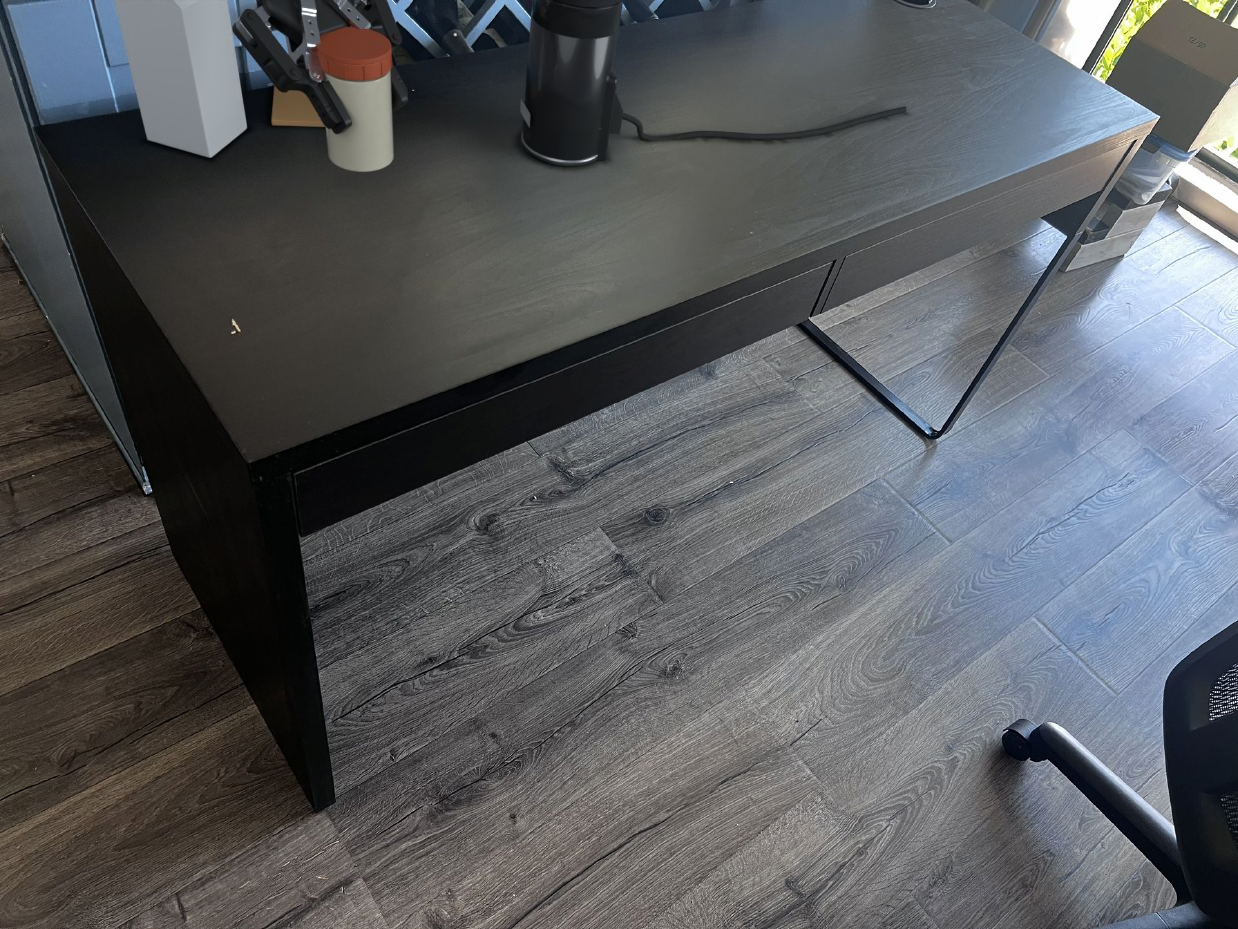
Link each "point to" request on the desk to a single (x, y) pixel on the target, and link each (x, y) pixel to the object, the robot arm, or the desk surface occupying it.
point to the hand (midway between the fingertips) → (373, 117)
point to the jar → (363, 124)
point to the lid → (355, 54)
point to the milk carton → (184, 72)
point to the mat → (294, 110)
